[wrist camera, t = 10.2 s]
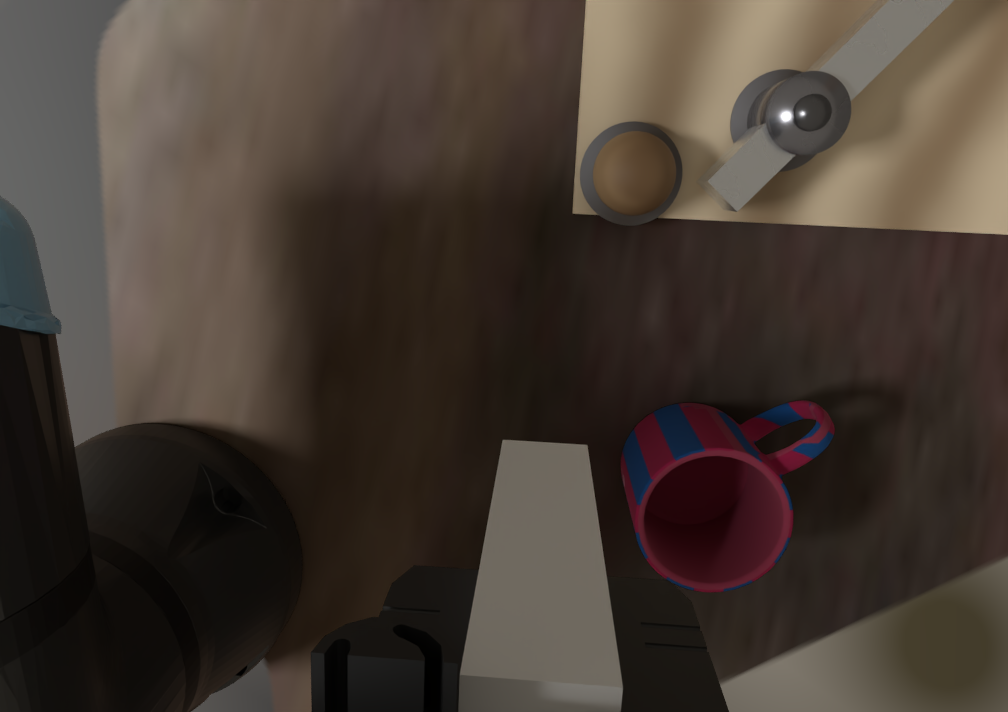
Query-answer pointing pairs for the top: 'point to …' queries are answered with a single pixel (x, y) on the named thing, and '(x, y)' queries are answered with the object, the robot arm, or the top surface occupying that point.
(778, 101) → the lever
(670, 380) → the top surface
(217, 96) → the top surface
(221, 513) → the robot arm
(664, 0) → the press base
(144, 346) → the top surface
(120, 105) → the top surface
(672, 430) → the mug
